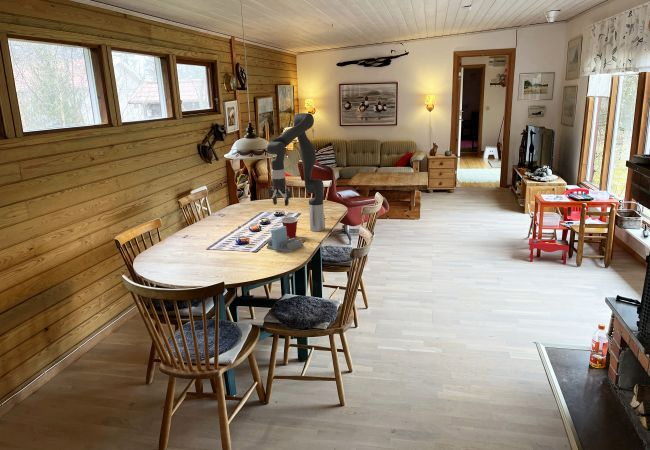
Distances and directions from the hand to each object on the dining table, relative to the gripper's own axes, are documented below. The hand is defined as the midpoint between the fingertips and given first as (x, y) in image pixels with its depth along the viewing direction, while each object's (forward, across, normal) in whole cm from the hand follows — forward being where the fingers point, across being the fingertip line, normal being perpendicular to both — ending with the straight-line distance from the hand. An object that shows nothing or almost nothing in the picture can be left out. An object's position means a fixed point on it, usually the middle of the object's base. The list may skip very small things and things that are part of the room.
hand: (280, 205), depth 273 cm
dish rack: (+24, -3, +3) cm, 25 cm away
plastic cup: (+25, +6, -14) cm, 29 cm away
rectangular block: (+23, -3, +8) cm, 24 cm away
